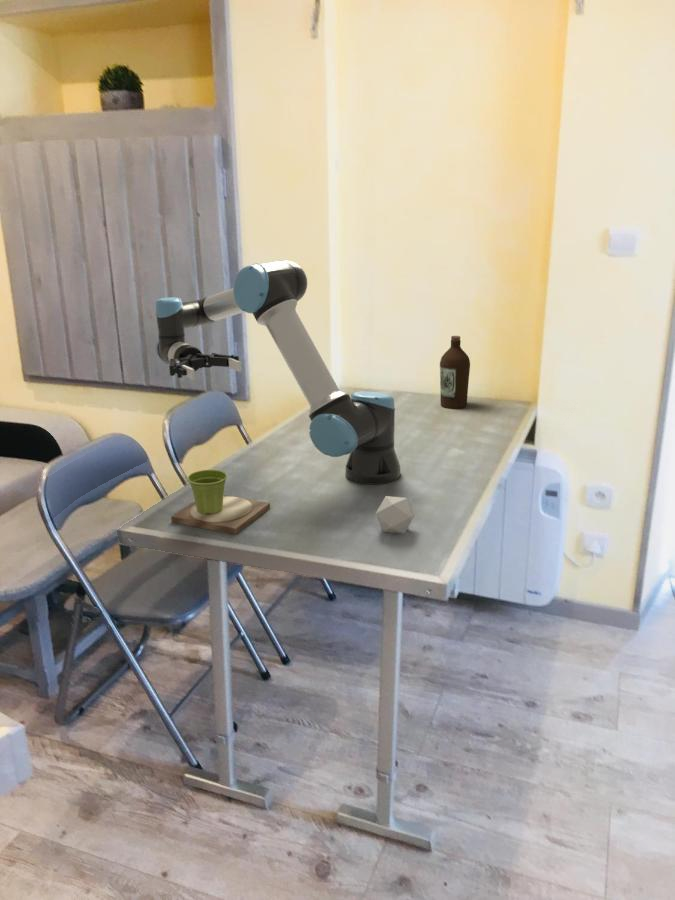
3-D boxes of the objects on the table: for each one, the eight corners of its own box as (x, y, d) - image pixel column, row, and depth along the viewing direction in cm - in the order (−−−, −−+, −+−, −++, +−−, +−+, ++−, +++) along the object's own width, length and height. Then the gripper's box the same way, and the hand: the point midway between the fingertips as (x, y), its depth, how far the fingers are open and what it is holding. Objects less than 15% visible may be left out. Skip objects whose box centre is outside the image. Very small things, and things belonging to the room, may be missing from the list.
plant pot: (212, 498, 188) (209, 466, 185) (237, 508, 182) (235, 475, 179) (182, 510, 181) (179, 477, 178) (207, 521, 175) (204, 486, 172)
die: (418, 527, 176) (399, 490, 177) (423, 524, 167) (403, 485, 169) (387, 542, 175) (368, 505, 176) (390, 540, 166) (371, 501, 168)
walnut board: (270, 508, 186) (269, 501, 185) (235, 534, 172) (235, 527, 172) (209, 497, 193) (208, 491, 193) (171, 522, 180) (171, 515, 179)
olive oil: (451, 399, 278) (453, 332, 269) (474, 405, 270) (477, 336, 262) (432, 405, 271) (434, 336, 263) (455, 411, 263) (458, 340, 255)
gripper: (226, 364, 222) (260, 377, 205) (145, 376, 209) (173, 392, 192) (224, 339, 219) (258, 350, 202) (142, 350, 206) (171, 363, 190)
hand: (217, 370), depth 197 cm, fingers open, 13 cm apart
